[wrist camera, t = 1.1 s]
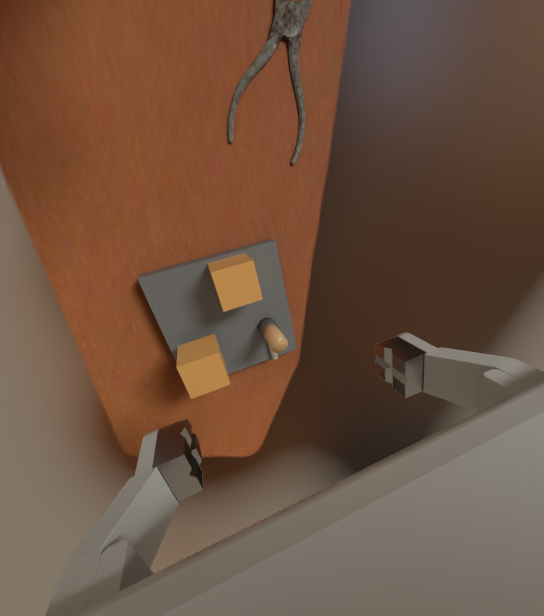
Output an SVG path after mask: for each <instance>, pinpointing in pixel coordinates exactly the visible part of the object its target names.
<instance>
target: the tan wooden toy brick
mask: <svg viewBox="0 0 544 616" xmlns="http://www.w3.org/2000/svg"><path fill="white" fill-rule="evenodd" d="M207 264H208V267H209V270H210V273H211V276H212V279H213V282H214V285H215V288H216V291H217V294H218V297H219V300H220V303H221V306H222V309H223V312H225V311H228V310H231V309H234V308H237V307H241V306H244V305H247V304H250V303H253V302H256V301H259V300H262V299H263V298H262V293H261V289H260V285H259V281H258V277H257V273H256V269H255V265H254V261H253V260H252V259H251V258H250V257H249V256H248V255H246V254H245V253H243V254H239V255H236V256H232V257H229V258H225V259H221V260H218V261H214V262H211V263H207Z"/></svg>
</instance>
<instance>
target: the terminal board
mask: <svg viewBox="0 0 544 616" xmlns="http://www.w3.org/2000/svg"><path fill="white" fill-rule="evenodd" d="M243 253H245V254H246V255H248V256H249V257H250V258H251V259H252V260H253V261H254V265H255V269H256V273H257V277H258V281H259V285H260V289H261V293H262V298H263V299H262V300H259V301H256V302H253V303H250V304H247V305H244V306H241V307H237V308H234V309H231V310H228V311H225V312H223V309H222V306H221V303H220V300H219V297H218V294H217V291H216V288H215V285H214V282H213V279H212V276H211V273H210V270H209V267H208V264H207V263H211V262H214V261H218V260H221V259H225V258H229V257H232V256H236V255H239V254H243ZM137 279H138V281H139V284H140V286H141V288H142V290H143V292H144V294H145V296H146V299H147V301H148V303H149V305H150V307H151V309H152V311H153V314H154V316H155V318H156V320H157V322H158V324H159V326H160V329H161V331H162V333H163V335H164V337H165V339H166V342H167V344H168V346H169V348H170V350H171V352H172V354H173V357H174V359H175V361H176V363H177V365H176V368H177V370H178V372H179V374H180V376H181V378H182V381H183V383H184V385H185V387H186V389H187V391H188V393H189V395H190V398H191V399H193V398H196V397H198V396H201V395H204V394H206V393H209V392H211V391H214V390H217V389H219V388H222V387H225V386H227V385H230V380H229V376H228V374H231V373H233V372H236V371H239V370H242V369H244V368H247V367H250V366H252V365H255V364H258V363H260V362H263V361H266V360H268V359H271V358H272V359H274V360H276V359H277V358H278V356H279V355H282V354H285V353H287V352H290V351H293V350H295V349H297V347H296V342H295V337H294V332H293V327H292V322H291V317H290V311H289V306H288V301H287V296H286V291H285V286H284V281H283V276H282V271H281V266H280V261H279V256H278V251H277V246H276V241H275V240H273V239H269V240H265V241H261V242H258V243H254V244H250V245H247V246H243V247H240V248H236V249H232V250H229V251H225V252H221V253H218V254H214V255H210V256H207V257H203V258H199V259H196V260H192V261H188V262H185V263H181V264H177V265H174V266H170V267H166V268H163V269H159V270H155V271H152V272H148V273H145V274H141V275H139V277H138V278H137Z"/></svg>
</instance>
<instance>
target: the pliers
mask: <svg viewBox="0 0 544 616" xmlns="http://www.w3.org/2000/svg"><path fill="white" fill-rule="evenodd" d="M311 3H312V0H301V1H299V0H296V2H295V3H293V2H292V1H291V0H275V6H274V19H273V23H272V26H271V30H270V34H269V37H268V40H267V42H266V44H265V46H264V48H263V49H262V51H261V52H260V54H259V55H258V57H257V58H256V59H255V61H254V62H253V63H252V65H251V66H250V68H249V69H248V70H247V72H246V73H245V74H244V76H243V77H242V79H241V81H240V82H239V84H238V86H237V88H236V91H235V93H234V96H233V99H232V103H231V107H230V112H229V118H228V142H229V143H232V142H233V125H234V117H235V112H236V108H237V105H238V102H239V99H240V97H241V95H242V93H243V91H244V89H245V88H246V87H247V85H248V84H249V83H250V82H251V80H252V79H253V78H254V77H255V76H256V74H257V73H258V72H259V71H260V70H261V69H262V68H263V67H264V66H265V64H266V63H267V62H268V61H269V59H270V58H271V56H272V55H273V53H274V52H275V50H276V48H277V46H278V44H279V43H280V41H281V39H282V37H283V38H285V39H288V40H287V41H288V56H289V66H290V72H291V77H292V82H293V86H294V91H295V96H296V101H297V106H298V112H299V134H298V140H297V145H296V148H295V152H294V154H293V157H292V160H291V165H294V164H295V162H296V160H297V158H298V155H299V153H300V149H301V146H302V142H303V137H304V130H305V105H304V98H303V91H302V85H301V78H300V70H299V47H300V44H301V36H302V29H303V27H304V24H305V21H306V18H307V15H308V12H309V9H310V6H311ZM297 34H298V35H297Z"/></svg>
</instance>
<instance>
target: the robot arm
mask: <svg viewBox="0 0 544 616" xmlns="http://www.w3.org/2000/svg"><path fill="white" fill-rule="evenodd" d="M374 353H375V354H376V355H377V358H376V360H375V367H376V370H377V372H378V374H379V375H380V377H381V378H382V379H383V380H385V381H386V382H389V383H393V388H394V389H395V390H396V391H397V392H399V393H400V394H401V395H402V396H403V397H405V398H407V397H409V396H412V395H414V394H417V393H419V392H421V391H423V392H425V393H428V394H431V395H434V396H436V397H439V398H442V399H444V400H447V401H450V402H453V403H455V404H458V405H461V406H463V407H466V408H469V409H472V410H474V411H477V413H475V414H473V415H471V416H470V417H467V418H465V419H463V420H461V421H459V422H457V423H455V424H453V425H451V426H449V427H447V428H445V429H443V430H441V431H439V432H437V433H435V434H433V435H431V436H429V437H427V438H425V439H423V440H421V441H419V442H417V443H415V444H413V445H412V446H409V447H407V448H405V449H403V450H401V451H399V452H397V453H395V454H394V455H391V456H389V457H388V458H385V459H383V460H381V461H379V462H377V463H375V464H373V465H371V466H369V467H367V468H365V469H363V470H361V471H359V472H357V473H355V474H353V475H351V476H349V477H347V478H345V479H343V480H341V481H339V482H337V483H335V484H333V485H331V486H329V487H327V488H325V489H323V490H321V491H319V492H317V493H315V494H313V495H311V496H309V497H307V498H305V499H303V500H301V501H299V502H297V503H295V504H293V505H291V506H289V507H287V508H285V509H283V510H281V511H279V512H277V513H275V514H273V515H271V516H269V517H267V518H265V519H263V520H261V521H259V522H257V523H255V524H253V525H251V526H249V527H247V528H245V529H243V530H241V531H239V532H237V533H235V534H233V535H231V536H229V537H227V538H225V539H223V540H221V541H219V542H217V543H215V544H213V545H211V546H209V547H207V548H205V549H203V550H201V551H199V552H197V553H195V554H193V555H191V556H189V557H187V558H185V559H183V560H181V561H179V562H177V563H175V564H173V565H171V566H169V567H167V568H165V569H163V570H161V571H159V572H157V573H155V574H154V573H153V572H152V571H151V569H150V567H151V565H152V563H153V560H154V558H155V556H156V554H157V551H158V549H159V547H160V544H161V542H162V540H163V538H164V535H165V533H166V531H167V528H168V526H169V524H170V522H171V520H172V517H173V515H174V513H175V510H176V508H177V506H178V504H179V503H178V502H179V501H181V500H183V499H185V498H187V497H189V496H191V495H193V494H195V493H197V492H200V491H202V490H203V478H202V470H201V468H200V466H199V465H200V463H201V461H202V456H201V449H200V444H199V441H198V439H197V436H196V434H193V433H192V426H191V424H190V422H189V420H188V419H185V420H182V421H179V422H176V423H174V424H171V425H168V426H166V427H163V428H160V429H158V430H155V431H153V432H150V433H147V434H145V435H144V437H143V439H142V444H141V448H140V453H139V457H138V462H137V467H136V471H135V476H134V477H131V478H130V479H129V480H128V481H127V483H126V484H125V485H124V487H123V488H122V489H121V491H120V492H119V493H118V494H117V496H116V497H115V498H114V500H113V501H112V502H111V504H110V505H109V506H108V508H107V509H106V510H105V512H104V513H103V514H102V516H101V517H100V518H99V520H98V521H97V522H96V524H95V525H94V526H93V528H92V529H91V530H90V532H89V533H88V534H87V536H86V537H85V538H84V540H83V541H82V542H81V543H80V545H79V546H78V548H77V549H76V550H75V552H74V553H73V554H72V555H71V557H70V558H69V559H68V561H67V562H66V563H65V565H64V567H63V569H62V572H61V575H60V578H59V581H58V583H57V586H56V589H55V591H54V594H53V597H52V599H51V602H50V605H49V608H48V610H47V613H46V616H544V371H541V370H539V369H536V368H534V367H532V366H530V365H528V364H525V363H523V362H521V361H519V360H516V359H514V358H508V357H501V356H495V355H488V354H482V353H475V352H468V351H461V350H455V349H448V348H436V347H434V346H432V345H430V344H428V343H426V342H425V341H423V340H421V339H419V338H417V337H415V336H413V335H411V334H409V333H402V334H400V335H397V336H395V337H393V338H391V339H388V340H386V341H384V342H381V343H378V344H376V345H375V347H374Z"/></svg>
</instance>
